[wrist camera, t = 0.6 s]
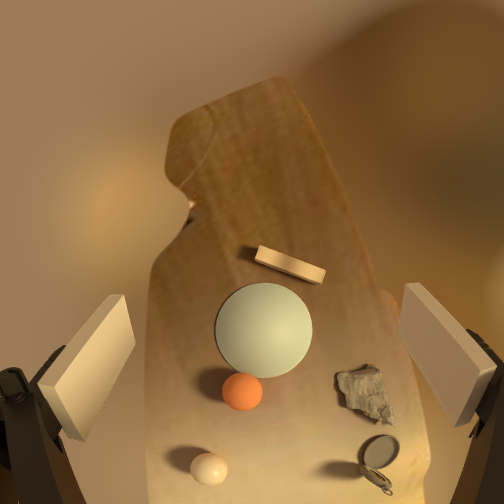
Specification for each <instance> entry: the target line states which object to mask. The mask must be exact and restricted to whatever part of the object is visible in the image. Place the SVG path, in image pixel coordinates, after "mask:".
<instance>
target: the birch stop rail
mask: <svg viewBox="0 0 504 504" xmlns="http://www.w3.org/2000/svg"><path fill="white" fill-rule="evenodd" d="M254 261H255V262H258V263H261V264H263V265H266V266H268V267H271V268H274V269H276V270H279V271H282V272H284V273H287V274H289V275H292V276H295V277H297V278H300V279H303V280H305V281H308V282H311V283H313V284H316V285H319V284H322V281H323V278H324V275H325V272H326V270H324V269H321V268H318V267H316V266H313V265H311V264H308V263H305V262H303V261H300V260H298V259H295V258H292V257H290V256H287V255H285V254H282V253H279V252H277V251H274V250H271V249H269V248H266V247H264V246H261V245H260V246H259V249H258V252H257V254H256V257H255V260H254Z"/></svg>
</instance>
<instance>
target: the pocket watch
mask: <svg viewBox="0 0 504 504" xmlns="http://www.w3.org/2000/svg"><path fill="white" fill-rule="evenodd" d="M399 450H400V444H399V441H398V440H397V439H396V438H395V437H393V436H391V435H384V436H380V437H377V438H376V439H374V440H373V441H372V442H370V443H369V445H368V446H367V447H366V449H365V451H364V455H363V460H364V463H365V464H366V465H361V466H360V468H359V471H360V472H361V474H362V475H363V476H364V477H365V478H367V479H368V480H369V481H370V482H372V483H373V484H375V485H376V486H378V487H380V488H382V491H383V492H384V493H385V494H387V495H389V496H392V495H393V493H392V491H391V490H390V488H391V487H392V484H391V482H390V481H389V479H387V478H386V477H385V476H384V475H383V474H381V473H380V472H378V471H377V470H375V469H382V468H385V467H387V466H388V465H390V464H391V463H392V462H393V461H394V460H395V459H396V457H397V456H398V453H399ZM383 489H384V490H385V491H390V492H391V494H388V493H386V492H385V491H384V490H383Z"/></svg>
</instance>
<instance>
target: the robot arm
mask: <svg viewBox="0 0 504 504" xmlns="http://www.w3.org/2000/svg"><path fill="white" fill-rule="evenodd" d="M397 335H398V336H399V338H400V339H401V341H402V342H403V344H404V346H405V347H406V349H407V350H408V352H409V354H410V355H411V357H412V358H413V360H414V361H415V363H416V365H417V366H418V368H419V370H420V371H421V373H422V374H423V376H424V378H425V380H426V381H427V383H428V385H429V386H430V388H431V390H432V391H433V393H434V395H435V396H436V398H437V400H438V402H439V403H440V405H441V407H442V409H443V410H444V412H445V414H446V416H447V418H448V419H449V421H450V423H451V425H452V427H453V428H455V427H458V426H461V425H464V424H467V423H469V422H470V420H471V418H472V417H473V415H474V413H475V411H476V413H477V415H478V416H479V420H478V421H477V423H476V425H475V427H474V428H473V430H472V432H471V433H470V435H469V438H471V437H472V435H473V437H472V441H471V445H470V448H469V451H468V455H467V458H466V461H465V464H464V467H463V471H462V473H461V476H460V479H459V481H458V484H457V487H456V489H455V492H454V495H453V497H452V499H451V502H450V504H504V363H503V362H502V360H501V359H500V358H499V357H498V356H497V355H496V354H495V353H494V352H493V350H492V349H490V347H489V346H488V345H487V344H486V343H484V341H483V340H482V338H481V337H480V336H479V335H478V334H476V333H474V332H473V331H471V330H469V329H466V330H465V329H464V328H463V327H462V326H461V325H460V324H459V323H458V322H457V321H456V320H455V319H454V318H453V317H452V316H451V314H450V313H449V312H448V311H447V310H446V309H445V308H444V307H443V306H442V305H441V304H440V303H439V302H438V301H437V300H436V299H435V298H434V297H433V296H432V295H431V294H430V293H429V292H428V291H427V290H426V289H425V288H424V287H423V286H422V285H421V284H420V283H410V284H405V289H404V296H403V302H402V308H401V313H400V319H399V324H398V329H397ZM135 343H136V342H135V339H134V335H133V331H132V327H131V324H130V319H129V315H128V311H127V307H126V303H125V298H124V295H109V296H108V297H107V298H106V299H105V301H104V302H103V303H102V304H101V305H100V306H99V308H98V309H97V310H96V311H95V312H94V313H93V315H92V316H91V317H90V318H89V319H88V320H87V322H86V323H85V324H84V325H83V326H82V328H81V329H80V330H79V331H78V332H77V334H76V335H75V336H74V337H73V338H72V340H71V341H70V342H69V343H68V345H67V346H66V345H63V346H62V347H60V348H59V349H58V350H56V351H55V352H54V353H53V354H52V355H51V356H50V357H49V359H48V361H46V362H45V364H44V366H43V367H41V369H40V370H39V371H38V372H37V374H36V375H35V376H34V378H33V379H32V380H31V381H30V383H28V381H27V379H26V377H25V375H24V373H23V371H22V370H21V369H19V368H16V367H12V368H7V369H5V370H2V371H1V372H0V396H1V397H0V504H18V501H19V504H86V502H85V499H84V497H83V495H82V493H81V490H80V488H79V485H78V483H77V481H76V478H75V476H74V473H73V471H72V468H71V465H70V463H69V460H68V457H67V454H66V452H65V448H64V445H63V443H62V440H61V438H60V436H59V435H58V434H59V432H60V430H61V428H63V430H64V432H65V433H66V435H67V436H68V438H71V439H75V440H79V441H84V442H85V440H86V438H87V436H88V434H89V432H90V430H91V428H92V426H93V424H94V422H95V420H96V418H97V416H98V414H99V412H100V410H101V408H102V406H103V404H104V402H105V400H106V398H107V396H108V394H109V392H110V390H111V388H112V387H113V385H114V383H115V381H116V379H117V377H118V375H119V373H120V371H121V369H122V367H123V366H124V364H125V362H126V360H127V358H128V356H129V355H130V353H131V351H132V349H133V347H134V345H135Z"/></svg>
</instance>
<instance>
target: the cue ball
mask: <svg viewBox="0 0 504 504" xmlns="http://www.w3.org/2000/svg"><path fill="white" fill-rule="evenodd" d="M190 472H191V475H192V477H193V478H194V479H195V480H196V481H197V482H198V483H200V484H202V485H205V486H215V485H217V484H220V483H221V482H222V481H223V480H224V479H225V478H226V475H227V465H226V463H225V461H224V460H223V459H222V458H221V457H220V456H218V455H216V454H213V453H203V454H200V455H198V456H197V457H195V458H194V459H193V461H192V463H191V466H190Z"/></svg>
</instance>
